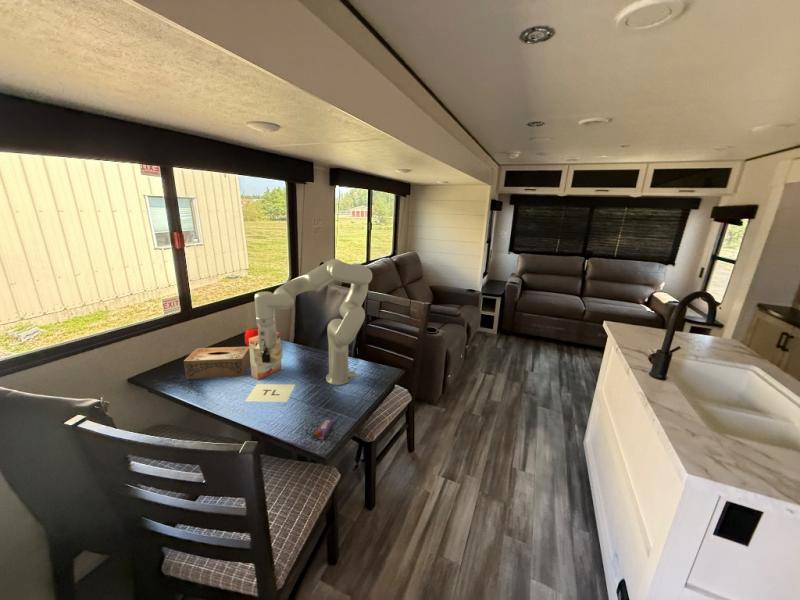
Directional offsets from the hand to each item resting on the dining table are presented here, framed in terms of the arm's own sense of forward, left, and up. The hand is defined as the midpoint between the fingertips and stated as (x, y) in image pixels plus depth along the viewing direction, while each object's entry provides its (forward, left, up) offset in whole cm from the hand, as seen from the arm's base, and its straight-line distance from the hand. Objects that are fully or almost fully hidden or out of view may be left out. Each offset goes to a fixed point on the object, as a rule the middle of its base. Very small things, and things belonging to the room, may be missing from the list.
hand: (269, 358), depth 135 cm
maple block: (0, 0, -1) cm, 1 cm away
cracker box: (+8, -18, -18) cm, 26 cm away
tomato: (+25, -48, -18) cm, 57 cm away
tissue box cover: (+32, -20, -18) cm, 42 cm away
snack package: (-28, +25, -18) cm, 42 cm away
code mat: (0, 0, -17) cm, 17 cm away
